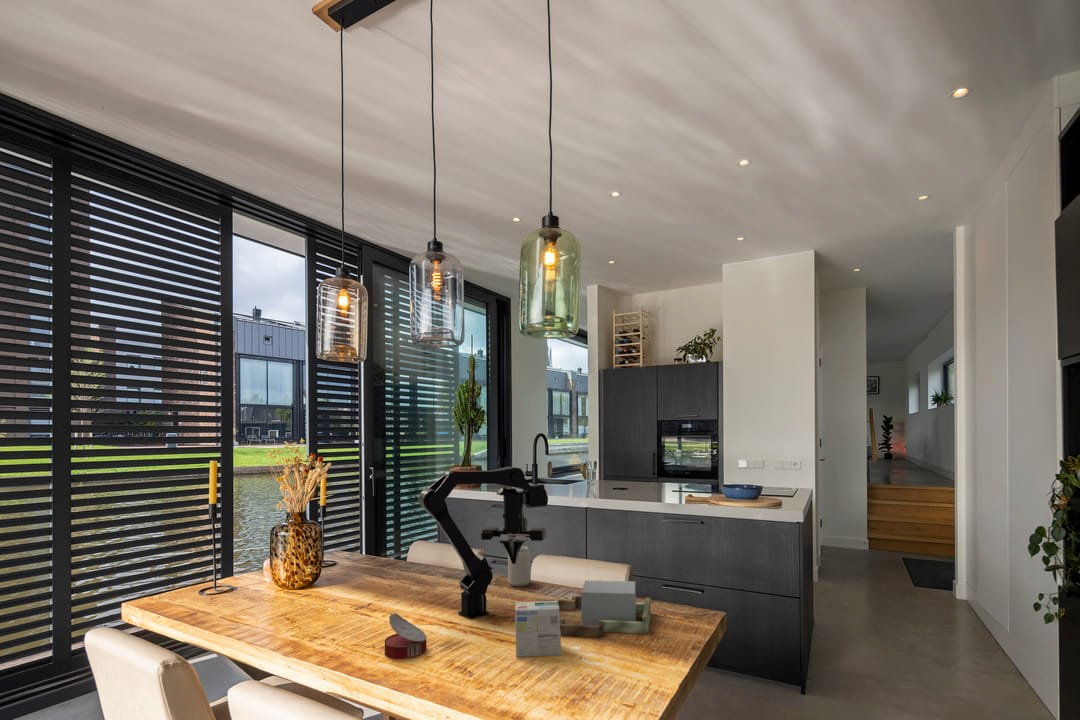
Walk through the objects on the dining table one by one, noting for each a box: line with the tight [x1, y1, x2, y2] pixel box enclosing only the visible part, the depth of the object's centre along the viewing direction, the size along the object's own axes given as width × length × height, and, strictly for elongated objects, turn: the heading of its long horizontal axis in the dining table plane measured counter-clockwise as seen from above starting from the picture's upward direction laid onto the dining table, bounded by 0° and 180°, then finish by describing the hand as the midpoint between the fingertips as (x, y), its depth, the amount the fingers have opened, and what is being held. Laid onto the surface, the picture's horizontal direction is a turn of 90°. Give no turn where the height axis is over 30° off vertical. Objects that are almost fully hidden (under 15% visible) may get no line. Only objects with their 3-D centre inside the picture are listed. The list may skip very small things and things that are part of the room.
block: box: [580, 580, 638, 626], centre depth 165 cm, size 14×12×9 cm
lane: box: [543, 595, 652, 639], centre depth 165 cm, size 30×27×4 cm
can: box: [507, 545, 532, 587], centre depth 204 cm, size 8×8×12 cm
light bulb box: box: [514, 600, 562, 658], centre depth 144 cm, size 11×7×11 cm, turn 92°
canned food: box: [384, 612, 427, 660], centre depth 146 cm, size 11×10×10 cm
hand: (514, 563), depth 179 cm, fingers closed
